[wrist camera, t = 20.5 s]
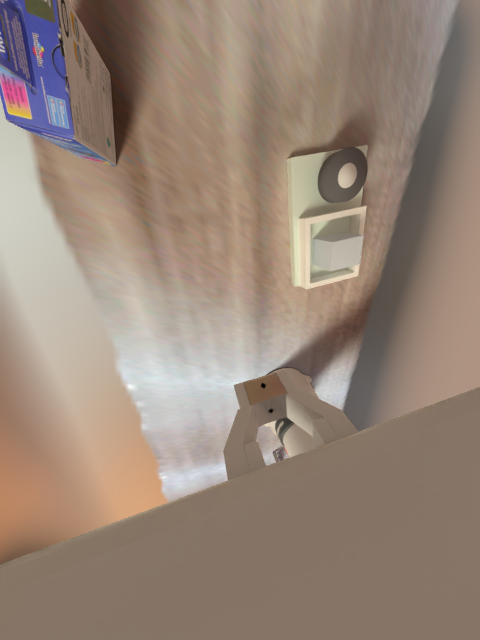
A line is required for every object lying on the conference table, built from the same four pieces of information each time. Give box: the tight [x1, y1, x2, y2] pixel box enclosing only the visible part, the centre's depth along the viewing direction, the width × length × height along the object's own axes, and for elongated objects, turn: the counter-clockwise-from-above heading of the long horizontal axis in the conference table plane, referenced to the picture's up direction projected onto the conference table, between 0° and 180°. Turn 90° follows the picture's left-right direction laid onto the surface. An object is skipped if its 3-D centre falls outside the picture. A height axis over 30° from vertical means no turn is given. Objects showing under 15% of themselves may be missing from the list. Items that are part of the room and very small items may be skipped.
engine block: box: [313, 232, 364, 271], centre depth 39 cm, size 5×6×6 cm
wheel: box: [318, 147, 367, 203], centre depth 33 cm, size 7×7×3 cm
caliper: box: [273, 452, 279, 462], centre depth 76 cm, size 20×1×6 cm, turn 15°
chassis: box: [287, 145, 368, 289], centre depth 38 cm, size 22×14×4 cm, turn 10°
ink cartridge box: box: [0, 0, 116, 166], centre depth 20 cm, size 10×6×14 cm, turn 170°
